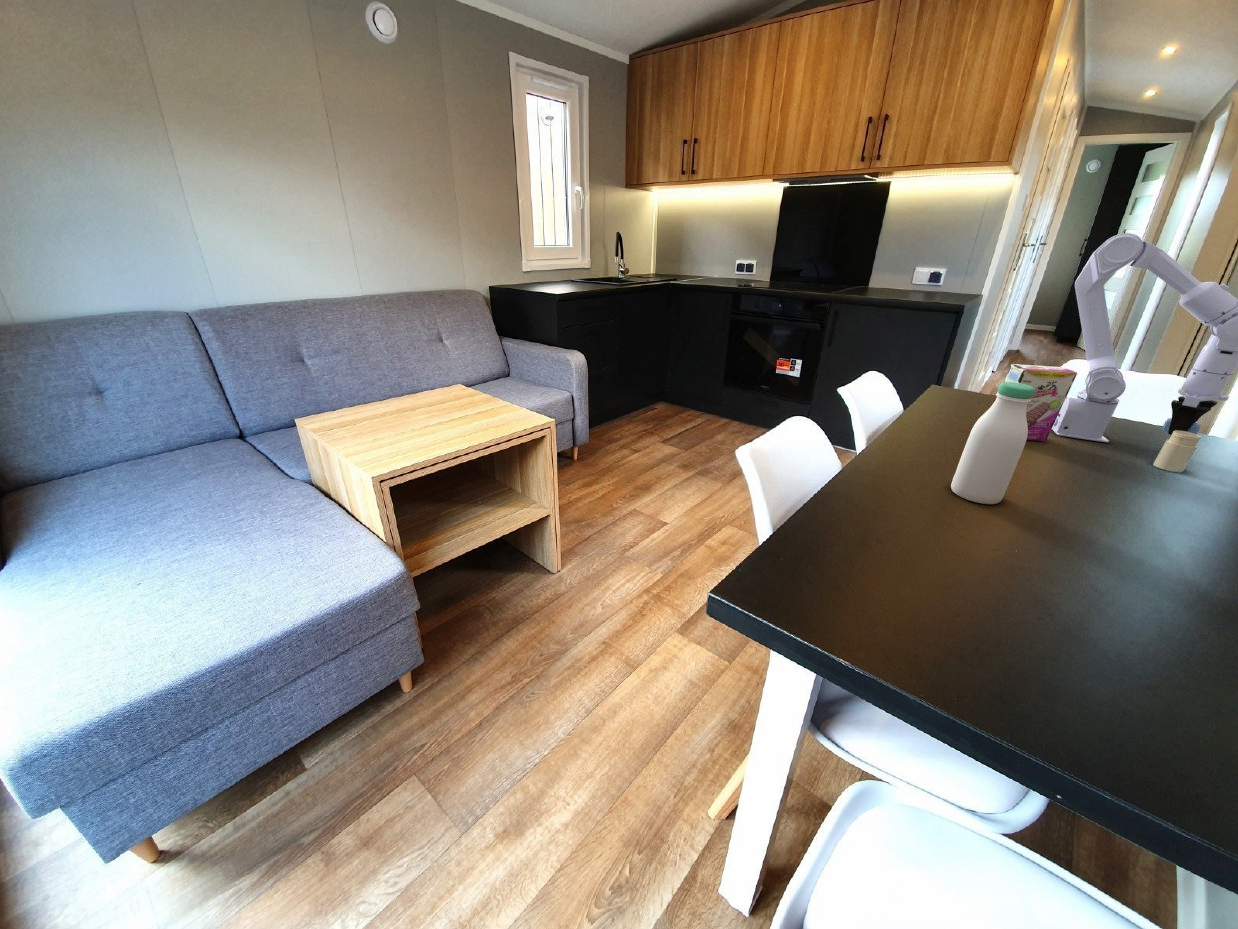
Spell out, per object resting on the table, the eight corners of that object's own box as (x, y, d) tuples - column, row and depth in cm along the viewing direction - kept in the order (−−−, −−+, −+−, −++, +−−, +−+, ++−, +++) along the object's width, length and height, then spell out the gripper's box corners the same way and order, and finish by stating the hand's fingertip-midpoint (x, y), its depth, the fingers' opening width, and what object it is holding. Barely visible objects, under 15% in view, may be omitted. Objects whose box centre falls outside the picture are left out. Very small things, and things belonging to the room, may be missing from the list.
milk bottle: (1010, 508, 83) (1059, 394, 74) (960, 502, 84) (1003, 389, 75) (988, 487, 89) (1031, 380, 81) (942, 482, 91) (980, 376, 82)
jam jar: (1159, 469, 99) (1178, 435, 96) (1148, 461, 103) (1166, 428, 100) (1187, 474, 98) (1208, 439, 94) (1176, 465, 101) (1195, 432, 98)
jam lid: (1190, 430, 106) (1196, 421, 106) (1199, 437, 103) (1204, 428, 102) (1159, 425, 109) (1164, 416, 108) (1166, 432, 105) (1171, 422, 104)
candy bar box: (996, 439, 112) (1023, 368, 105) (983, 431, 116) (1009, 363, 109) (1048, 442, 111) (1079, 371, 104) (1033, 434, 115) (1062, 366, 108)
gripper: (1236, 380, 93) (1197, 445, 99) (1246, 371, 101) (1210, 432, 107) (1183, 372, 98) (1150, 434, 104) (1197, 364, 106) (1165, 422, 112)
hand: (1177, 433), depth 106 cm, fingers closed on jam lid, 5 cm apart
